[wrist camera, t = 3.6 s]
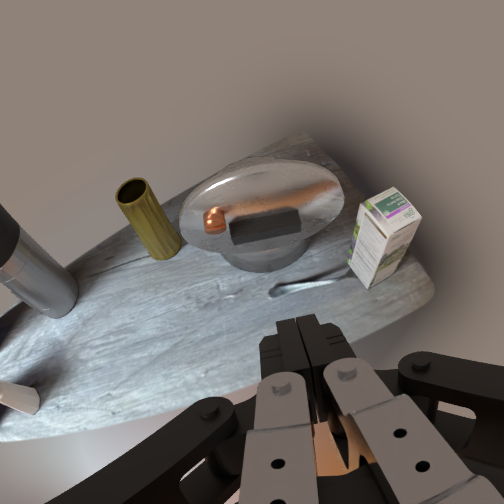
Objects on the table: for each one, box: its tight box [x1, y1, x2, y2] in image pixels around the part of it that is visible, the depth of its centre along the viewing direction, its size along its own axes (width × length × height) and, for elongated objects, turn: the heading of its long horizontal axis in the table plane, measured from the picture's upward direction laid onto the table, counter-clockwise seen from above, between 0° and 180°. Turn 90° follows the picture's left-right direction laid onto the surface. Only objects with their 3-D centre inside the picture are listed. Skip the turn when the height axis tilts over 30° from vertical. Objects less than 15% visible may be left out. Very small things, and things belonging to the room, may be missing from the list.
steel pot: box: [214, 157, 311, 273], centre depth 50 cm, size 16×16×9 cm
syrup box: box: [347, 187, 422, 289], centre depth 41 cm, size 6×6×14 cm
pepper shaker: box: [0, 381, 40, 415], centre depth 37 cm, size 5×5×11 cm
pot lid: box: [179, 160, 344, 254], centre depth 33 cm, size 17×17×3 cm
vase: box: [115, 178, 181, 260], centre depth 49 cm, size 6×6×14 cm
